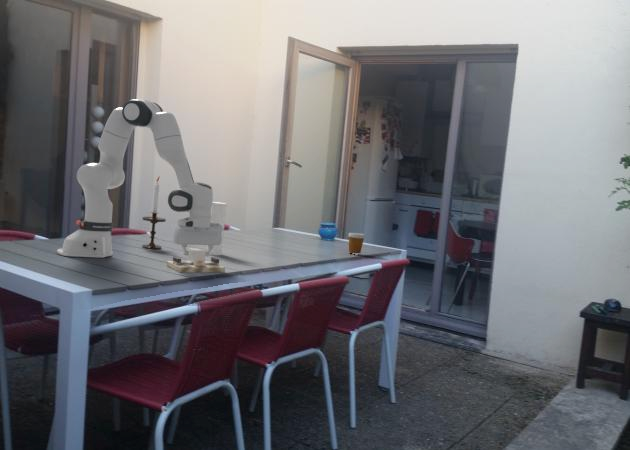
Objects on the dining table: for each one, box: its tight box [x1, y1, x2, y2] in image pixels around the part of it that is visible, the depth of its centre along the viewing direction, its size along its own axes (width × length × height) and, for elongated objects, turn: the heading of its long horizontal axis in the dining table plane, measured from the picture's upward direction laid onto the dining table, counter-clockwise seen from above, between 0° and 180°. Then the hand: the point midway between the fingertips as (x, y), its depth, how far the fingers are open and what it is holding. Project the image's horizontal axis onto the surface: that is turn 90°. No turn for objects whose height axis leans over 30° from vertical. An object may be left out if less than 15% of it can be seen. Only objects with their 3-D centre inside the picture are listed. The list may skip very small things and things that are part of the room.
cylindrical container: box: [206, 201, 227, 256], centre depth 317 cm, size 7×7×25 cm
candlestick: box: [141, 175, 167, 250], centre depth 314 cm, size 11×11×35 cm
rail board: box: [166, 256, 226, 273], centre depth 272 cm, size 20×14×5 cm
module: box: [187, 248, 207, 266], centre depth 272 cm, size 4×8×6 cm, turn 34°
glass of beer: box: [348, 232, 366, 254], centre depth 373 cm, size 10×10×12 cm
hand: (196, 255), depth 272 cm, fingers open, 8 cm apart
